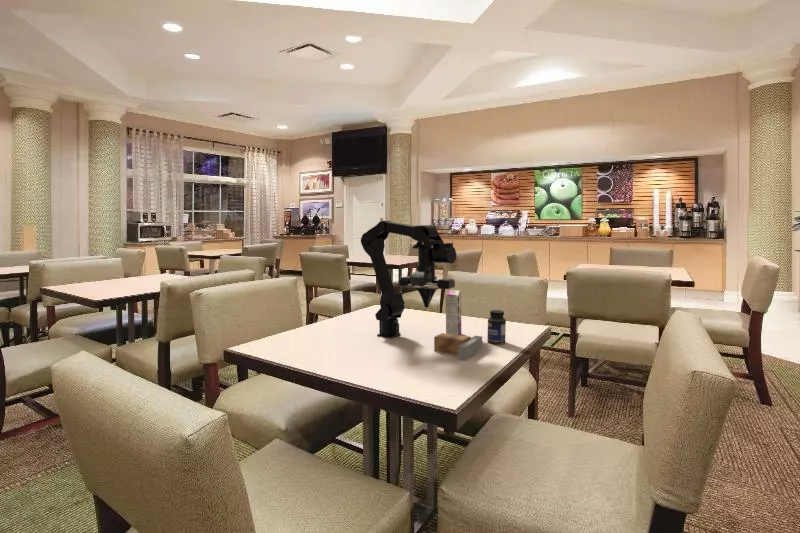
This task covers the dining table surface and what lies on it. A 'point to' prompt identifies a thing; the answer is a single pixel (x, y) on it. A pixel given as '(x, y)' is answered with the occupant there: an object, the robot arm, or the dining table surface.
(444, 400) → the dining table surface
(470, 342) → the fence board
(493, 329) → the pill bottle
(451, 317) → the candy bar box
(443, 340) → the walnut brick
